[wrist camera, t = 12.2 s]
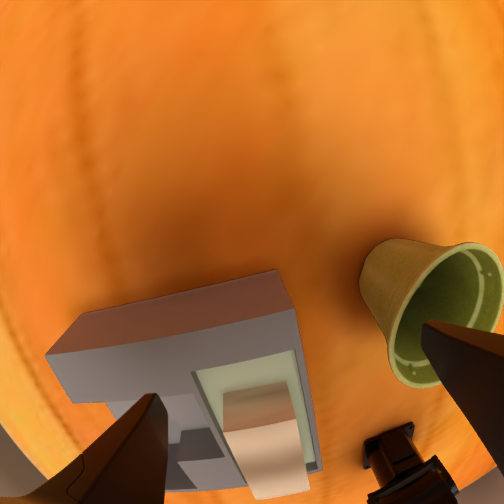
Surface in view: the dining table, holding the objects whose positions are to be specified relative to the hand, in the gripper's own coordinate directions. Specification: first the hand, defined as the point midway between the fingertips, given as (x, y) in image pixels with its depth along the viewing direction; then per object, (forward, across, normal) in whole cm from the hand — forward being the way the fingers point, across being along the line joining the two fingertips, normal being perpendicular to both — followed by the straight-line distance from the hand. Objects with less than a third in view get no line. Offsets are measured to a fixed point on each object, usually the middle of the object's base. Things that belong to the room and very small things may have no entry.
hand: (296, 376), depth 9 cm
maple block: (+7, +2, +11) cm, 13 cm away
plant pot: (+13, -10, +4) cm, 17 cm away
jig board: (+13, +7, +9) cm, 17 cm away
